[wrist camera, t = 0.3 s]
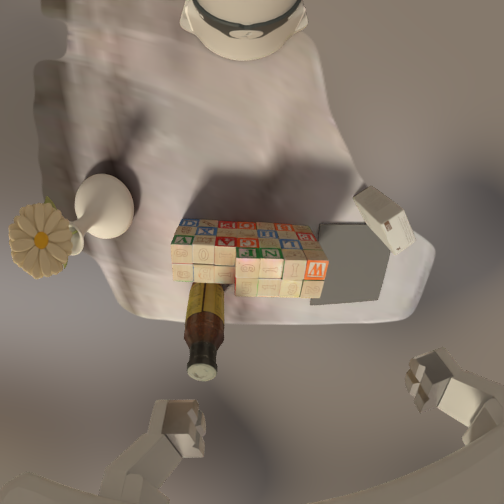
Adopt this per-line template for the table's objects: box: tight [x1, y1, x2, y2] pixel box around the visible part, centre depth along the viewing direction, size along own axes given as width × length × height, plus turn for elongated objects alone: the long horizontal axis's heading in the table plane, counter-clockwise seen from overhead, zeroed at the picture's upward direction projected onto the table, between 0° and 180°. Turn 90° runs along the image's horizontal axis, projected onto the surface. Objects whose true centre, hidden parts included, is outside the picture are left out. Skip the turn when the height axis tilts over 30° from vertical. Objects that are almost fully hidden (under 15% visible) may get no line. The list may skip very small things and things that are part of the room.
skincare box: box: [353, 186, 416, 255], centre depth 41 cm, size 6×4×12 cm
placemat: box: [310, 224, 390, 305], centre depth 52 cm, size 17×15×1 cm
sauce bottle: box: [184, 282, 224, 381], centre depth 44 cm, size 7×6×20 cm
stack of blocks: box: [171, 219, 329, 298], centre depth 43 cm, size 21×6×12 cm, turn 85°
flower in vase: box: [9, 174, 134, 279], centre depth 32 cm, size 13×11×25 cm
